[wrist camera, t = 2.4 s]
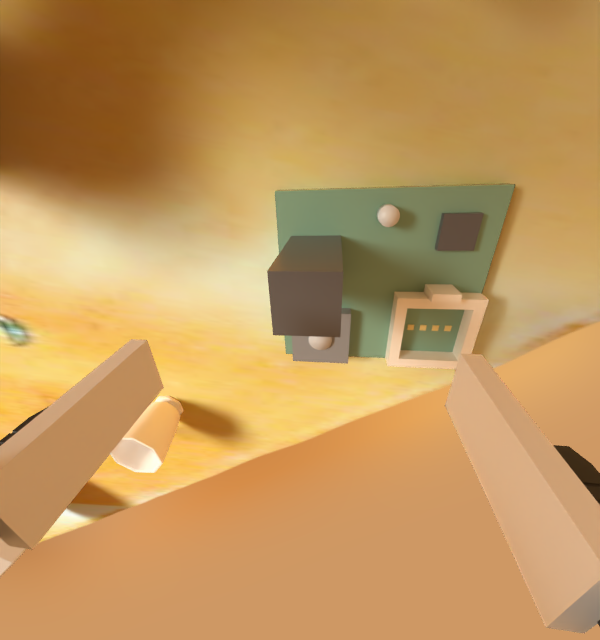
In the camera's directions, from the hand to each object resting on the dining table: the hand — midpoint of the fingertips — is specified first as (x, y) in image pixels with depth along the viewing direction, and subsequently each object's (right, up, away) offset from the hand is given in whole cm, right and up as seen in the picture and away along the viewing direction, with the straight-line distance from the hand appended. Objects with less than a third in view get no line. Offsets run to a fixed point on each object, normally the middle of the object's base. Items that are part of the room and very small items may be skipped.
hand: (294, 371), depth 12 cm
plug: (+2, +8, +14) cm, 16 cm away
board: (+8, +6, +16) cm, 19 cm away
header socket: (+13, +1, +16) cm, 21 cm away
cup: (-20, -11, +29) cm, 37 cm away
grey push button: (+4, +1, +19) cm, 19 cm away
